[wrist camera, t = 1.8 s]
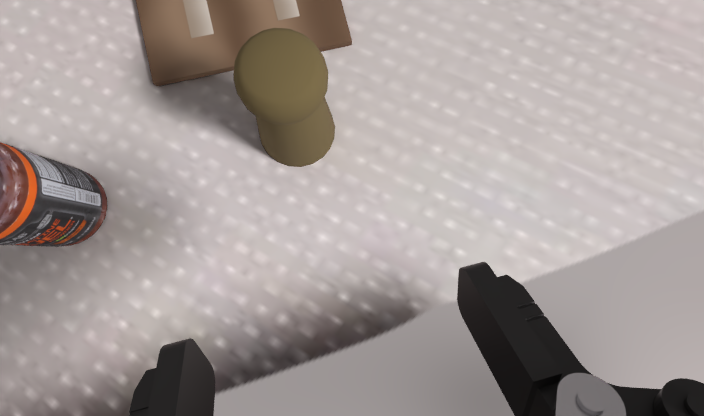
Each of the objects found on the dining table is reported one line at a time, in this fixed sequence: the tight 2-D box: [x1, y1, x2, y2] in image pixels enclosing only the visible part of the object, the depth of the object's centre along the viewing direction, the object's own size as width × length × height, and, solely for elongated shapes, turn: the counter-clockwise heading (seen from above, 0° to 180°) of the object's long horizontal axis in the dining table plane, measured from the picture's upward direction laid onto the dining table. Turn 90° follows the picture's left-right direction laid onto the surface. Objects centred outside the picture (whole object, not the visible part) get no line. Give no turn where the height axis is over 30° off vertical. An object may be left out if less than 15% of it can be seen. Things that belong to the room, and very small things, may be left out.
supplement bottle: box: [0, 143, 107, 247], centre depth 24 cm, size 6×6×11 cm
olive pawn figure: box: [233, 28, 335, 167], centre depth 25 cm, size 6×6×11 cm
